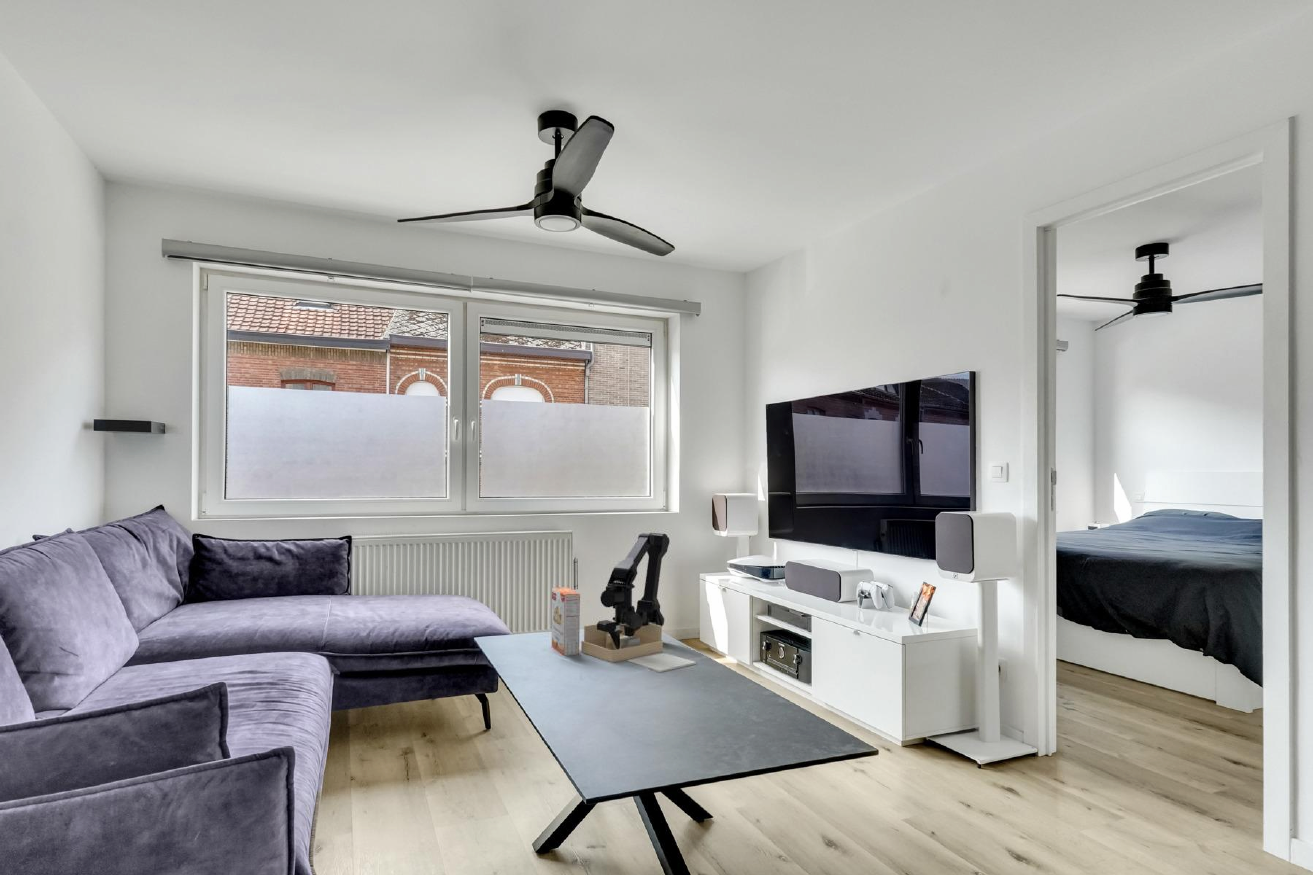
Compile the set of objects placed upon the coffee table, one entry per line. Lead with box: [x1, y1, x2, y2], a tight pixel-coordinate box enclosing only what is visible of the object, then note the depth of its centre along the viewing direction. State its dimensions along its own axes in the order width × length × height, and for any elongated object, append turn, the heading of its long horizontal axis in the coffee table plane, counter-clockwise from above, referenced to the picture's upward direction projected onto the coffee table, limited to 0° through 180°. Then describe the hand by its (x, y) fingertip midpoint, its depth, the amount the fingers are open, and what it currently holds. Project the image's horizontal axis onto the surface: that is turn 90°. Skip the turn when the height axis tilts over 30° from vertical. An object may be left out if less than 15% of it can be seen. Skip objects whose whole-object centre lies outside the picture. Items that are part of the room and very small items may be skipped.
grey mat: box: [626, 651, 697, 674], centre depth 246 cm, size 16×16×1 cm
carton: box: [580, 620, 664, 663], centre depth 258 cm, size 22×17×9 cm
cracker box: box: [551, 586, 581, 656], centre depth 260 cm, size 14×6×21 cm, turn 25°
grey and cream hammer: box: [606, 634, 640, 650], centre depth 258 cm, size 13×5×5 cm, turn 41°
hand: (622, 648), depth 258 cm, fingers closed on grey and cream hammer, 4 cm apart
